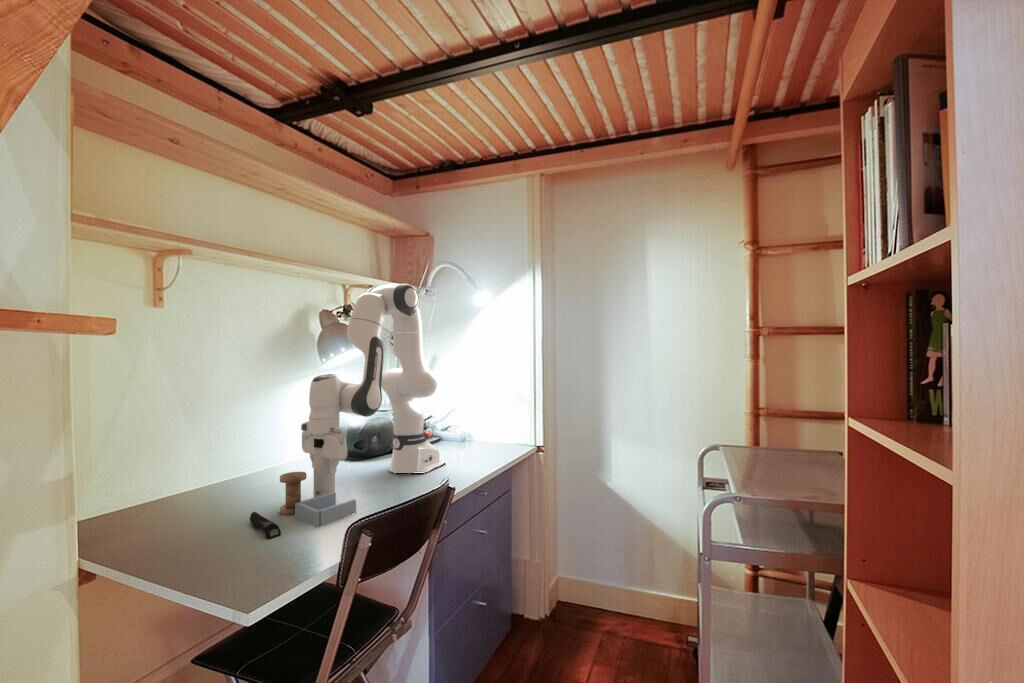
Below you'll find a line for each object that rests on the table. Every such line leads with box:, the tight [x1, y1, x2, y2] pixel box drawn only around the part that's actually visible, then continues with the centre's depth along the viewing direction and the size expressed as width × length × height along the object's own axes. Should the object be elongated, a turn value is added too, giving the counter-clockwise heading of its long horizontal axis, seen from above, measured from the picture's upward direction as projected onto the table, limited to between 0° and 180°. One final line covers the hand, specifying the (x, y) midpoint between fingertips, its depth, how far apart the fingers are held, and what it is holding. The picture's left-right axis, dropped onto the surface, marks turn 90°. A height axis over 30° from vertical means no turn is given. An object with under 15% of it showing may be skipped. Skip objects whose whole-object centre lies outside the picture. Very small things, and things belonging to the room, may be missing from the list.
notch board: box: [294, 491, 357, 528], centre depth 127 cm, size 12×11×4 cm
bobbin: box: [279, 471, 307, 516], centre depth 130 cm, size 7×7×10 cm
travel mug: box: [313, 439, 336, 498], centre depth 140 cm, size 6×7×20 cm
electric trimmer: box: [249, 511, 282, 540], centre depth 118 cm, size 4×16×3 cm, turn 47°
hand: (323, 470), depth 140 cm, fingers open, 8 cm apart
